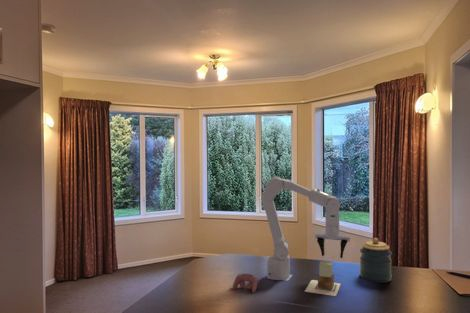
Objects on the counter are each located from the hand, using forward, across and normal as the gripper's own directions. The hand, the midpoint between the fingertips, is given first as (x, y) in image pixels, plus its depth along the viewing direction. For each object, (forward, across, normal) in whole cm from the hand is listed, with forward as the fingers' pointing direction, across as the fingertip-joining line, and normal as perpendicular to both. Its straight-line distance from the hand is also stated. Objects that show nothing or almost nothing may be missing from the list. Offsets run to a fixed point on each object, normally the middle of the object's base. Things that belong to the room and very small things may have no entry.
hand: (332, 256), depth 160 cm
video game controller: (+11, -31, -23) cm, 40 cm away
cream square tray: (+10, -2, -11) cm, 15 cm away
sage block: (+5, -1, -10) cm, 11 cm away
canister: (+11, +17, +10) cm, 22 cm away
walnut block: (+10, -1, -10) cm, 14 cm away
